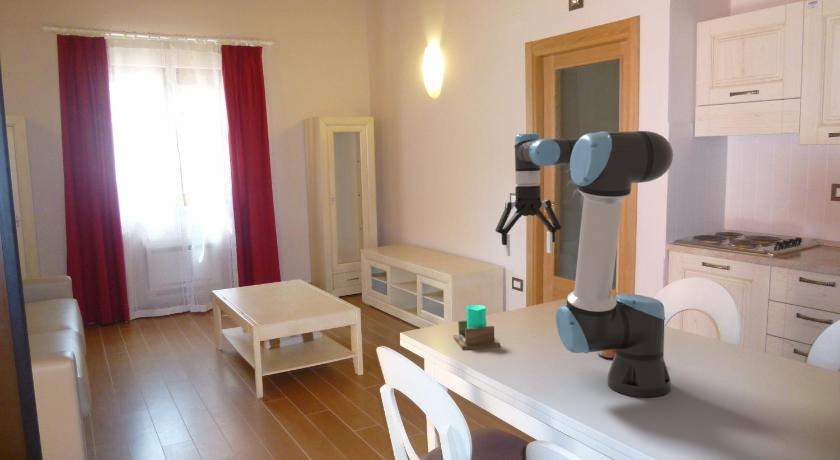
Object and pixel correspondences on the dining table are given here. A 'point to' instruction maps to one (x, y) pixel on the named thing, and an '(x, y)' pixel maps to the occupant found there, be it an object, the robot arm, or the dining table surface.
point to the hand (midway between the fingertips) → (528, 254)
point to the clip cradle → (475, 336)
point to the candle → (476, 316)
